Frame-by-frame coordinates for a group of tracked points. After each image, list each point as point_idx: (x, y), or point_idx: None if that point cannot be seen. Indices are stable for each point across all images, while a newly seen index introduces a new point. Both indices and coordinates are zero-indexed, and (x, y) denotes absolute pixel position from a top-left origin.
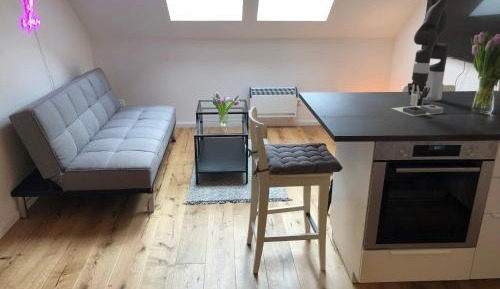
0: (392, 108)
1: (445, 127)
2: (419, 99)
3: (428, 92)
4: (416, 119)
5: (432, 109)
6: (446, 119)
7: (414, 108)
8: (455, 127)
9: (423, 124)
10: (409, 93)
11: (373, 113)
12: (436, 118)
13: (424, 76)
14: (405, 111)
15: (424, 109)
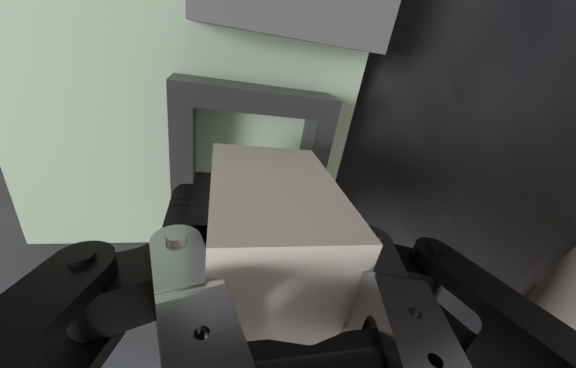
0: (40, 236)
1: (524, 204)
2: None
3: (559, 323)
4: None
5: (386, 40)
6: (491, 29)
7: (193, 120)
8: (569, 157)
9: None
10: (107, 339)
11: (124, 362)
12: (424, 83)
13: None
14: None
15: (321, 108)
